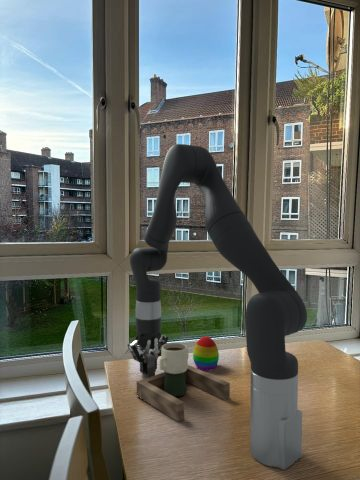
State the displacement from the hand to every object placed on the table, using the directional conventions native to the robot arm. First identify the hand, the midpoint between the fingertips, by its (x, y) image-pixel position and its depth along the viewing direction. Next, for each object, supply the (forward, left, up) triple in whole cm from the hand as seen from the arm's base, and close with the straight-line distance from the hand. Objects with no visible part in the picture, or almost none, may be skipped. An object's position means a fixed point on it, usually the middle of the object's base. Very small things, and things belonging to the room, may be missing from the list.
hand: (148, 372), depth 114 cm
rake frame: (-12, 0, -2) cm, 12 cm away
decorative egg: (-5, -19, -2) cm, 20 cm away
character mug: (-12, 0, -2) cm, 12 cm away
